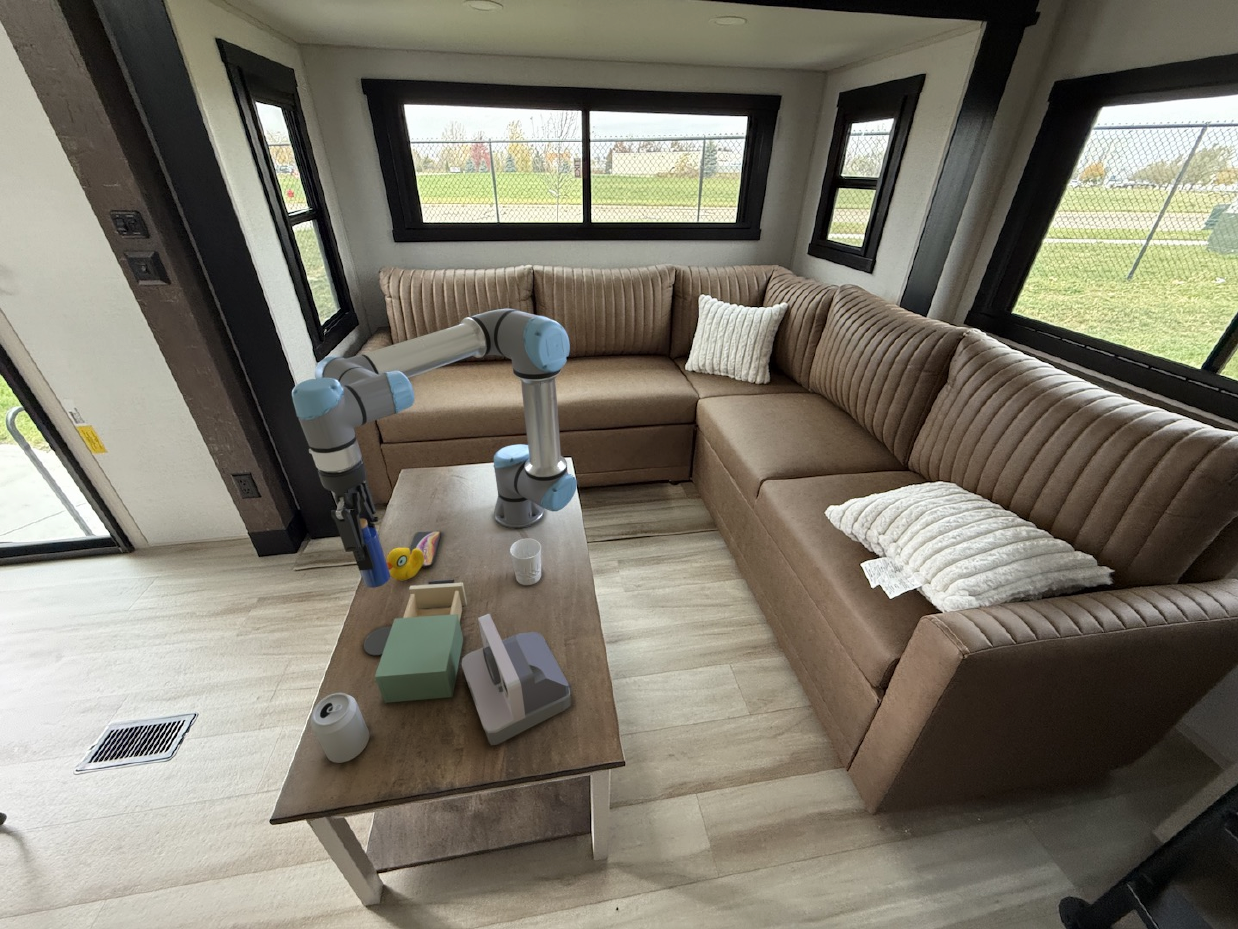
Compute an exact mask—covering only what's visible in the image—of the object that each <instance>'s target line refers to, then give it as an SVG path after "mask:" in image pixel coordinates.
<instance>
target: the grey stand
mask: <svg viewBox="0 0 1238 929" xmlns="http://www.w3.org/2000/svg"><path fill="white" fill-rule="evenodd" d="M477 621H478V626H479V632H480V637H481V643H482V647H481V648H478V649H475V650H474V651H470V652H469V653H466V654H465V656H463V657H462V658H461V669H462V672H463V674H464V677H465V680H466V682H467V686H468V688H469V691H470V694H471V697H472V699H473V702H474V705H475V708H476V711H477V713H478V717H479V719H480V722H481V726H482V728H483V730H484V732H485V736H486V738H487V741H488V743H489V744H490V746H497V745H500V744H501V743H503V742H505V741H507V740H508V739H511V738H513V737H515V736H517V735H519V734H521V733H523V732H524V731H526V730H529V729H531V728H533V727H534V726H536V725H538V724H541V723H543V722H544V721H546V720H549V719H550V718H552V717H555V716H557V715H559V714H560V713H562V712H565V711H566V710H567V709H568V708H570V707H571V706H572V705H571V704H572V703H571V693H572V687H571V685H570V682H569V681H568V680H567V678H566V676H565V675H564V673H563V670H562V669H561V667H560V665H559V664H558V662H557V660H556V658H555V656H554V654H553V653H552V650H551V648H550V647H549V644H548V642H547V640H545V638H544V636H543V635H542V634H541V633H540V632H537V631H529V632H521V633H516V634H514V635H512V636H510V637H507V638H505V639H502V638H501V636H500V633H499V632H498V630H497V626H496V624H495V623H494V620H493V618H492V616H491V614H490V613H487V614H484V615H481V616H479V617H478V618H477Z"/></svg>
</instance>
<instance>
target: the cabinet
mask: <svg viewBox="0 0 1238 929" xmlns="http://www.w3.org/2000/svg"><path fill="white" fill-rule="evenodd" d="M460 622H461V621H460ZM460 622H459V618H458V614H452V615H438V616H424V617H409V618H403V617H398V618H394V620H393V622H392V625H391V626H392V628H391V631H390V634H389V637H388V640H387V643H386V645H385V648H384V651H383V654H382V655H381V657H380V660H379V663H378V666H377V668H376V671H375V674H374V679H375V681H376V684H377V686H378V690H379V692H380V694H381V697H382V699H383V701H384V703H385V704H387V703H388V704H389V703H399V702H409V701H422V700H431V699H432V700H433V699H434V700H435V699H443V698H444V699H445V698H453V697H454V696H453V695H454V691H455V685H456V680H457V674H458V670H459V664H460V658H461V654H462V649H463V643H464V637H463V632H462V627H461V623H460Z"/></svg>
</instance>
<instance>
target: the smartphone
mask: <svg viewBox="0 0 1238 929" xmlns="http://www.w3.org/2000/svg"><path fill="white" fill-rule="evenodd" d="M441 536H442V532H441V531H439V530H432V531H431V530H430V531H418V532H416V533H415V534H414V537H413V539H412V542H411V544H410V548H409V549H410V554H411V553H412V550H413V549H415V548H417V549H420V550H421V551H422V552H423V554H424V563H423V565H422V567H421V568H420V569H424V568H432V566H433V565H434V563H435V558H436V555H437V551H438V547H439V543H440V540H441Z"/></svg>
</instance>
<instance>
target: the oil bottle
mask: <svg viewBox="0 0 1238 929" xmlns="http://www.w3.org/2000/svg"><path fill="white" fill-rule="evenodd" d="M360 523H361V528H362V534H363V539H364V542H367V545H368V548H369V551H370V554H371V557H372V561H373V564H374V569H372V570H361V571H359V573H360V576H361V579H362V581H363V585H364V586H365V587H367V588H370V589H373V588H374V589H375V588H379V587H381V586H384V585H385V584H387V583H388V582H389V581H390V578H391V574H390V570H389V569H388V566H387V562H388V561H387V558H386V556H385V552H384V549H383V545H382V543H381V540H380V536H379V532H378V530H377V528H376V529H374V528H372V527H368V525H367V524H368V523H367V520H366V519H363V518H361V519H360Z"/></svg>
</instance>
